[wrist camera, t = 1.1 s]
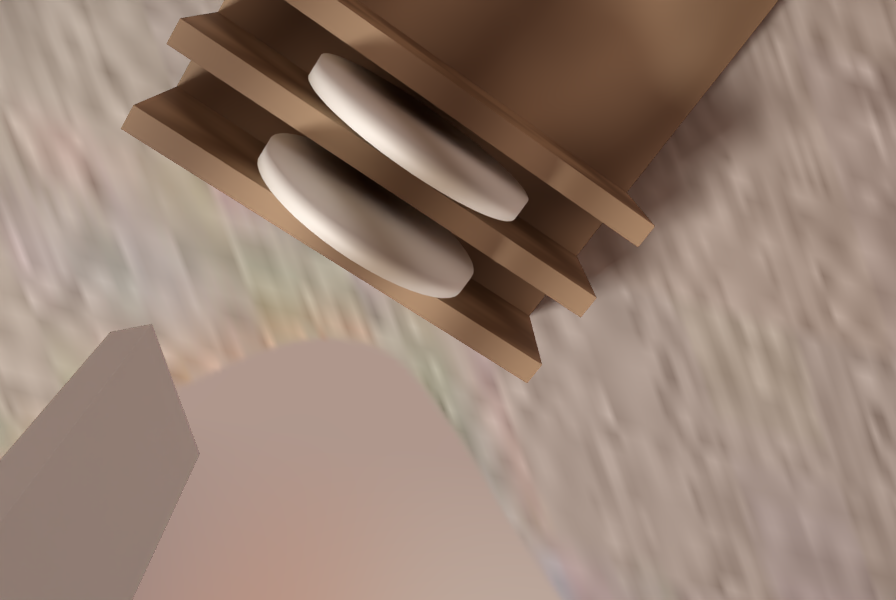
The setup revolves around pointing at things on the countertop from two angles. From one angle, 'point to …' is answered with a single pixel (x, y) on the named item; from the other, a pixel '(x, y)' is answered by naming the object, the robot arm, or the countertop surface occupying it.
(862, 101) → the countertop surface
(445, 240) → the rack
